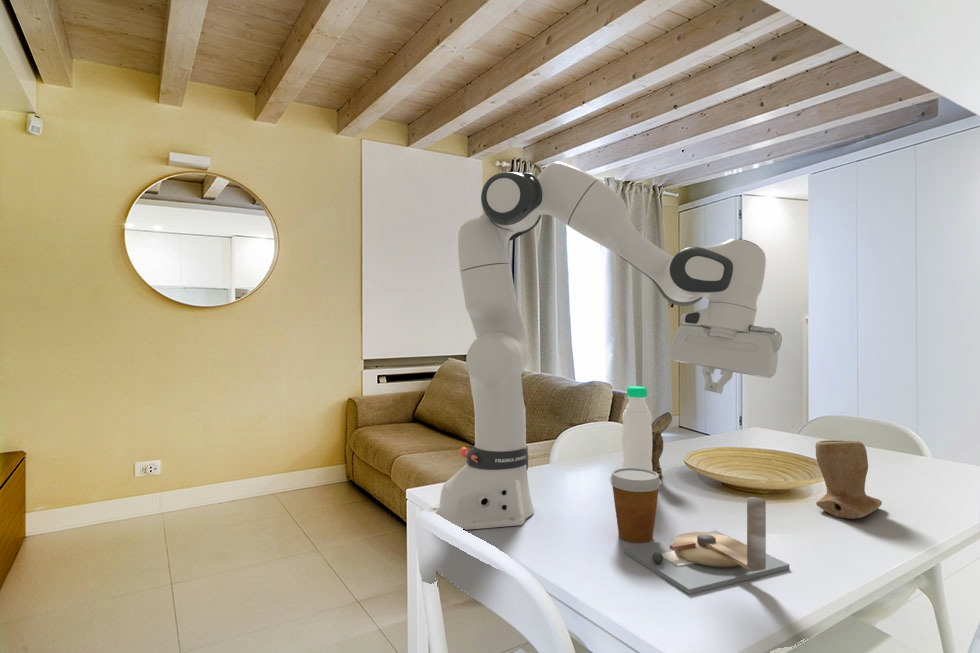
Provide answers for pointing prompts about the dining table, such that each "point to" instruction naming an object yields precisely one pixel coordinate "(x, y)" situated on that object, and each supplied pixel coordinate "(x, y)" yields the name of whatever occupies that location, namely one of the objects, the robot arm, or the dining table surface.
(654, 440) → the stone sculpture
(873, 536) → the dining table surface
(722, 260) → the robot arm
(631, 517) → the disposable coffee cup
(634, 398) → the water bottle
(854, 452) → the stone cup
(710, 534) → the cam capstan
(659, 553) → the base board
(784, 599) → the dining table surface
